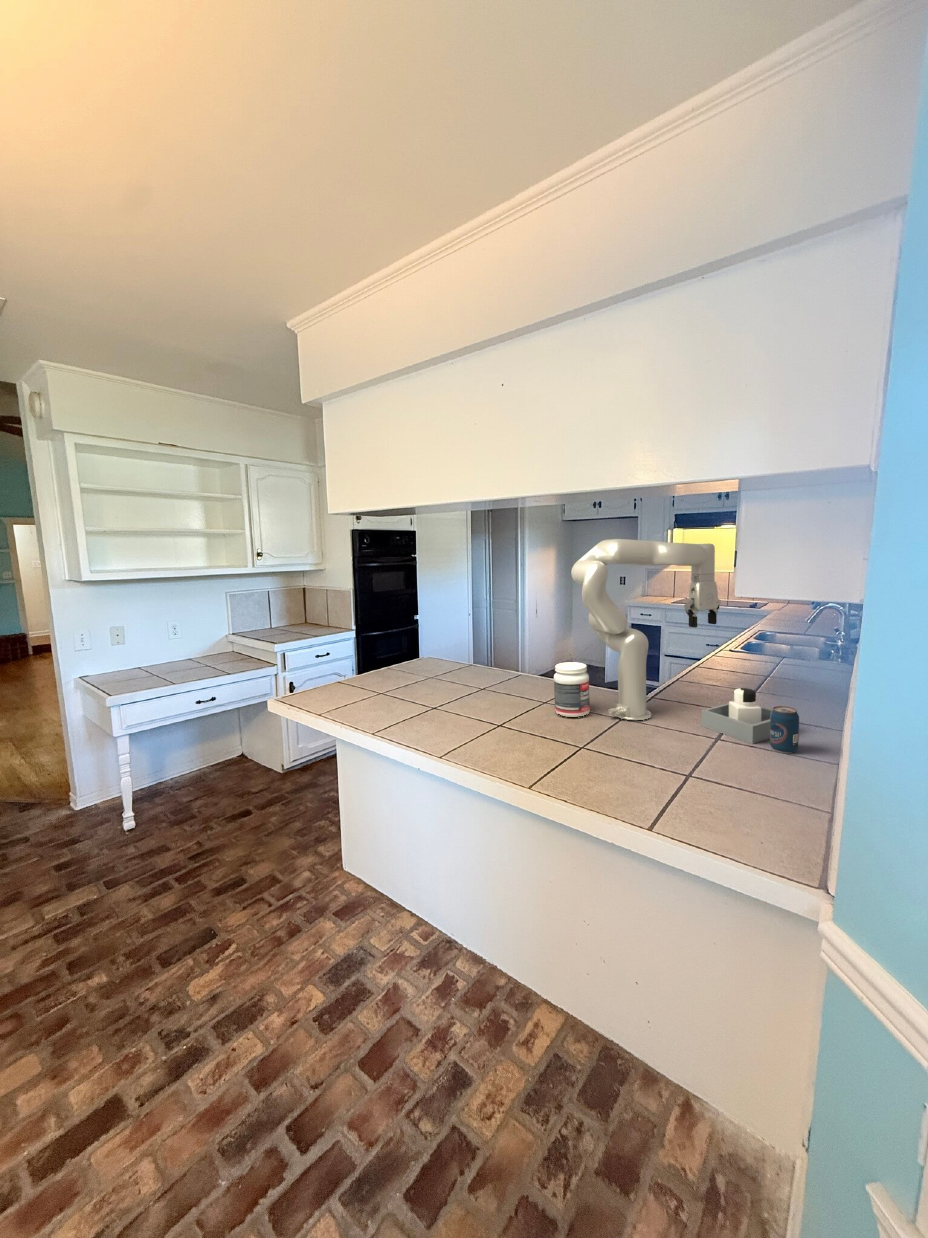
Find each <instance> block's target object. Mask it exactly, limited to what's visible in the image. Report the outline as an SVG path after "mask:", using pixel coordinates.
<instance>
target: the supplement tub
mask: <svg viewBox="0 0 928 1238" xmlns="http://www.w3.org/2000/svg"><path fill="white" fill-rule="evenodd" d="M587 667H588V665H587V664H585V663H582V662H576V661H574V662H572V661H571V662H560V663H557V664H556V665H555V667H554V671H555V673H554V675H553V688H554V689H553V691H554V693H553V694H554V712H555V711H556V712H555V713H556V714H557V715H558V714H560V715H563V716H583V717H585V716H584V715H586V714H587V715H588V714H589V713H590V711H591V704H590V703H591V701H590V700H591V699H590V675H589V674H588V672H587V671H588V668H587ZM560 715H559V716H560ZM587 715H586V716H587Z"/></svg>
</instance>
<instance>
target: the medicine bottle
mask: <svg viewBox="0 0 928 1238" xmlns="http://www.w3.org/2000/svg"><path fill="white" fill-rule="evenodd" d="M756 699H757V692H756V691H755V690H754V689H752V688H747V687H740V688H736V689H735V690H734V691H733V700H732V701H730V700H729V702H728V703H729V717H730V718H733V719H736V720H739V721H742V722H745V723H749V724H755V723H758V722H761V707H762V706H761V707H759V706H760V705H758V704H756V703H757V700H756Z"/></svg>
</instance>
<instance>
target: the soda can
mask: <svg viewBox="0 0 928 1238" xmlns="http://www.w3.org/2000/svg"><path fill="white" fill-rule="evenodd" d="M799 734H800V715H799V713H798V710H797V709H796V708H794V707H790V706H785V705H784V706H782V705H780V706H774V707H772V712H771V714H770V739H769V744H770V745H769V746H771V748H772V750H773V751H775V752H778V753H782V752H783V753H782V754H793V753H792V752H794V753H795V752H796V751H797V750H798V748H799V741H800V740H799V739H800V738H799V737H800V735H799Z"/></svg>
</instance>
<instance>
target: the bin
mask: <svg viewBox="0 0 928 1238" xmlns="http://www.w3.org/2000/svg"><path fill="white" fill-rule="evenodd" d="M758 706H759V707H761V722H758V723H755V724H749V723H745V722H742V721H739V720H736V719H733V718H730V717H729V702H728V703H723V704H720V705H716V706H713V707H708V708H705V709H701V713H700V715H701V720H700V721H701V727H703V726H704V727H703V728H705V729H708V728H709V729H708V730H711V731H715V732H717V733H721V734H722V733H723V735H725V734H726V735H725V736H728V737H731V738H734V737H735V738H734V739H738V740H740V741H742V740H743V742H744V743H745V742H746V743H748V744H752V745H754V744H757V743H761V742H763V741H766V740H770V714H771V712H772V710H773V708H772V709H771V708H768V707H764V706H761V705H758Z"/></svg>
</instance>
